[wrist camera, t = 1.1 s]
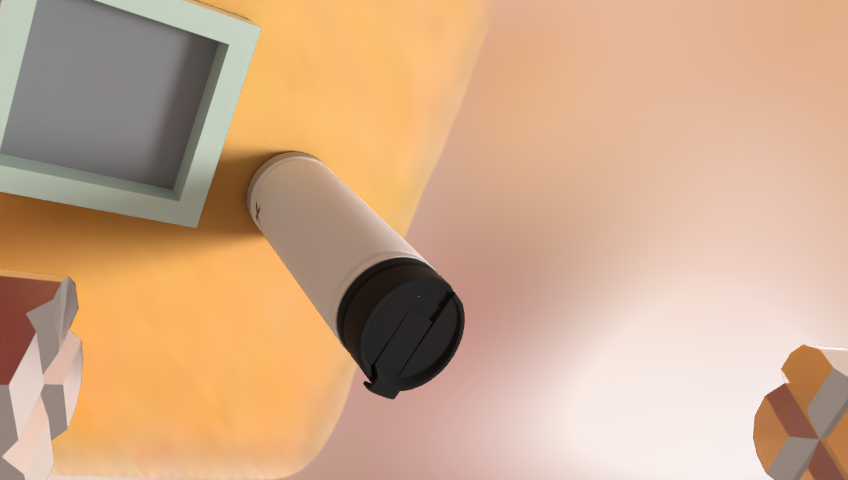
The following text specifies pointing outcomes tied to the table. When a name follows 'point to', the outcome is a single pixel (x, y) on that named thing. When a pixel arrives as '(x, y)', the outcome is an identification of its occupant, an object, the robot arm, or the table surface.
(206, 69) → the pale green square tray
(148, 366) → the table surface
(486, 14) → the table surface
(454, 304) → the travel mug
